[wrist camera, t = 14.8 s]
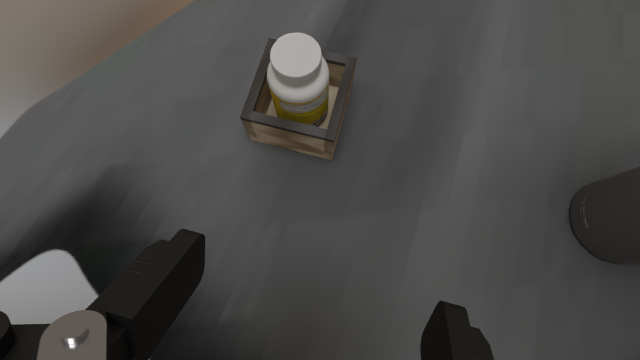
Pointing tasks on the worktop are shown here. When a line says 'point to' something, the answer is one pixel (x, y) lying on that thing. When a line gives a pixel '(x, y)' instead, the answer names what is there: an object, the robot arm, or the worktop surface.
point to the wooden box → (293, 134)
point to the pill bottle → (299, 79)
